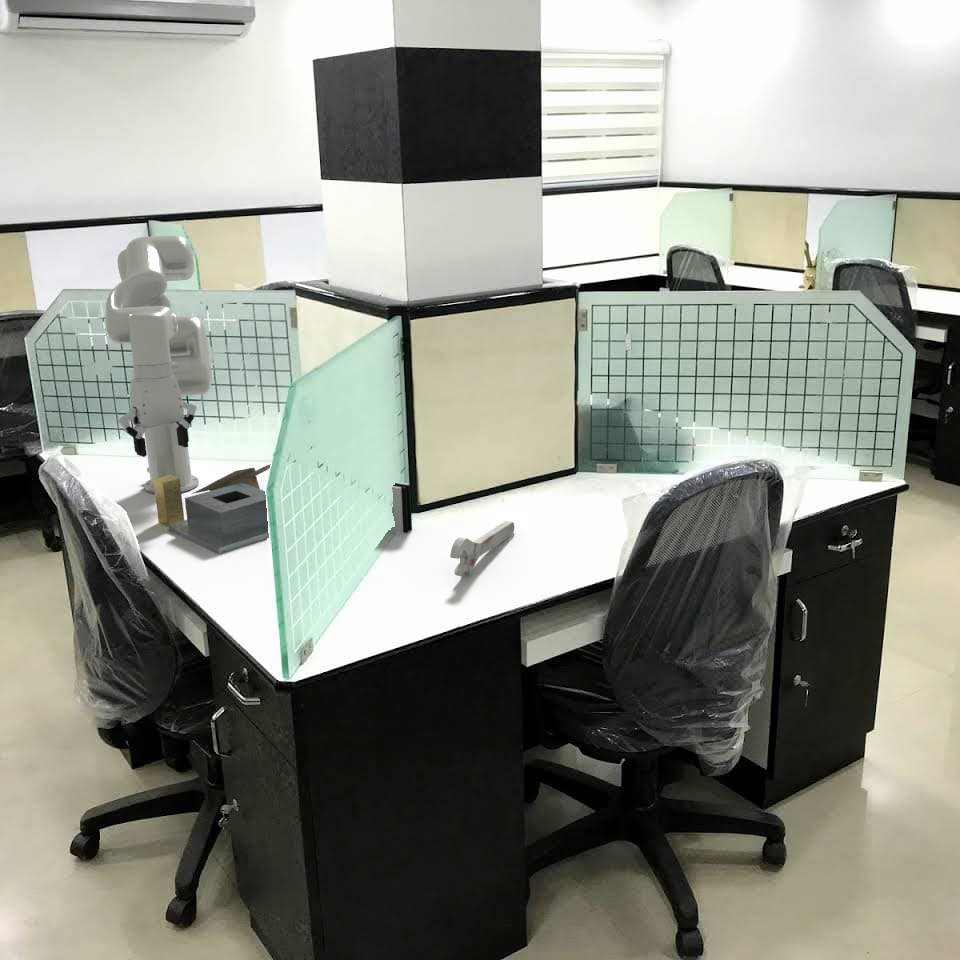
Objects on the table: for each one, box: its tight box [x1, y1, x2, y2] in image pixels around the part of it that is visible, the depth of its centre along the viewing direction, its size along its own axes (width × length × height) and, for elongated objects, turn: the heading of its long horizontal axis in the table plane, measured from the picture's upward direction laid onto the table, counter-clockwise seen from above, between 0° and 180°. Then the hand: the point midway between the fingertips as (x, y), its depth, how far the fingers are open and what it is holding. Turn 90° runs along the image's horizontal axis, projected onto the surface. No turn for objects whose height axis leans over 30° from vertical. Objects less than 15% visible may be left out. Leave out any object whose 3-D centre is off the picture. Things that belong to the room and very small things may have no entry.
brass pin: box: [153, 475, 185, 528], centre depth 216 cm, size 4×4×10 cm
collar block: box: [167, 483, 269, 555], centre depth 212 cm, size 20×20×7 cm
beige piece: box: [190, 464, 271, 496], centre depth 232 cm, size 16×9×15 cm
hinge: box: [388, 481, 413, 534], centre depth 211 cm, size 14×5×10 cm, turn 74°
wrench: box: [449, 520, 515, 577], centre depth 195 cm, size 8×2×30 cm
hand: (162, 450), depth 212 cm, fingers open, 9 cm apart
